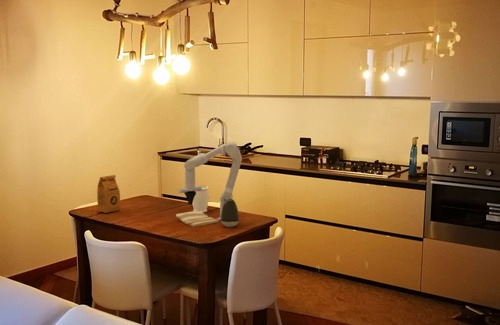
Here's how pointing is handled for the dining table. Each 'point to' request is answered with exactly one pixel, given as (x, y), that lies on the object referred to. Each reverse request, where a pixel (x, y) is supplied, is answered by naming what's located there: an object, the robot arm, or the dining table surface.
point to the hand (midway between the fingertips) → (190, 204)
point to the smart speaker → (229, 213)
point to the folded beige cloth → (202, 221)
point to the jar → (201, 199)
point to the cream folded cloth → (191, 216)
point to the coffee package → (108, 195)
